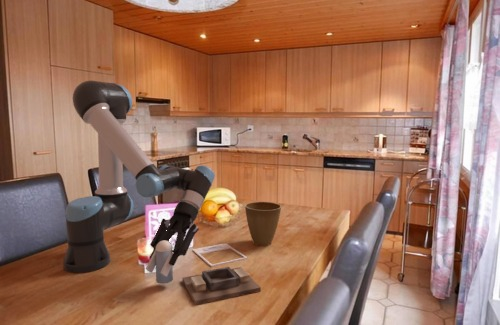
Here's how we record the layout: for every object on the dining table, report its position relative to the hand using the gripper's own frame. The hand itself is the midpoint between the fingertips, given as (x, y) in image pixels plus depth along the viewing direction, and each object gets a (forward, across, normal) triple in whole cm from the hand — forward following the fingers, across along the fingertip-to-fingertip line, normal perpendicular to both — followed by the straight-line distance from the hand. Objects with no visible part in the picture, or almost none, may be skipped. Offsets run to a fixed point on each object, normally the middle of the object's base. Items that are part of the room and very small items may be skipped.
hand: (156, 272), depth 106 cm
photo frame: (-19, -2, -28) cm, 34 cm away
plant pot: (-33, -11, -42) cm, 54 cm away
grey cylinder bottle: (0, 0, -5) cm, 5 cm away
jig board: (-4, -15, -12) cm, 20 cm away
